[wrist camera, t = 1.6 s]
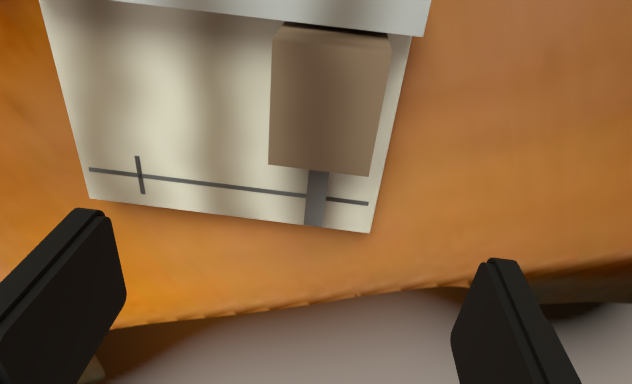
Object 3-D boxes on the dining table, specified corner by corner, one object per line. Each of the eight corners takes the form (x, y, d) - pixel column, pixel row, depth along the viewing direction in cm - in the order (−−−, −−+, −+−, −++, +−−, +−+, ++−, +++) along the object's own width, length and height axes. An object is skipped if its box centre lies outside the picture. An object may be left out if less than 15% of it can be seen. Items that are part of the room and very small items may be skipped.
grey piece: (417, -26, 22) (434, -12, 18) (368, 212, 31) (370, 262, 26) (52, -68, 22) (-26, -65, 18) (107, 179, 31) (65, 224, 27)
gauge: (385, 27, 21) (392, 53, 17) (351, 213, 28) (351, 265, 24) (288, 16, 21) (272, 39, 17) (278, 204, 28) (264, 254, 24)
